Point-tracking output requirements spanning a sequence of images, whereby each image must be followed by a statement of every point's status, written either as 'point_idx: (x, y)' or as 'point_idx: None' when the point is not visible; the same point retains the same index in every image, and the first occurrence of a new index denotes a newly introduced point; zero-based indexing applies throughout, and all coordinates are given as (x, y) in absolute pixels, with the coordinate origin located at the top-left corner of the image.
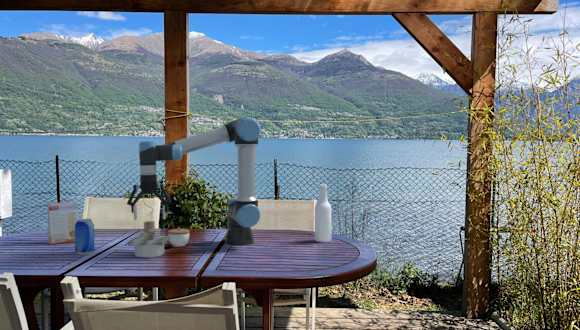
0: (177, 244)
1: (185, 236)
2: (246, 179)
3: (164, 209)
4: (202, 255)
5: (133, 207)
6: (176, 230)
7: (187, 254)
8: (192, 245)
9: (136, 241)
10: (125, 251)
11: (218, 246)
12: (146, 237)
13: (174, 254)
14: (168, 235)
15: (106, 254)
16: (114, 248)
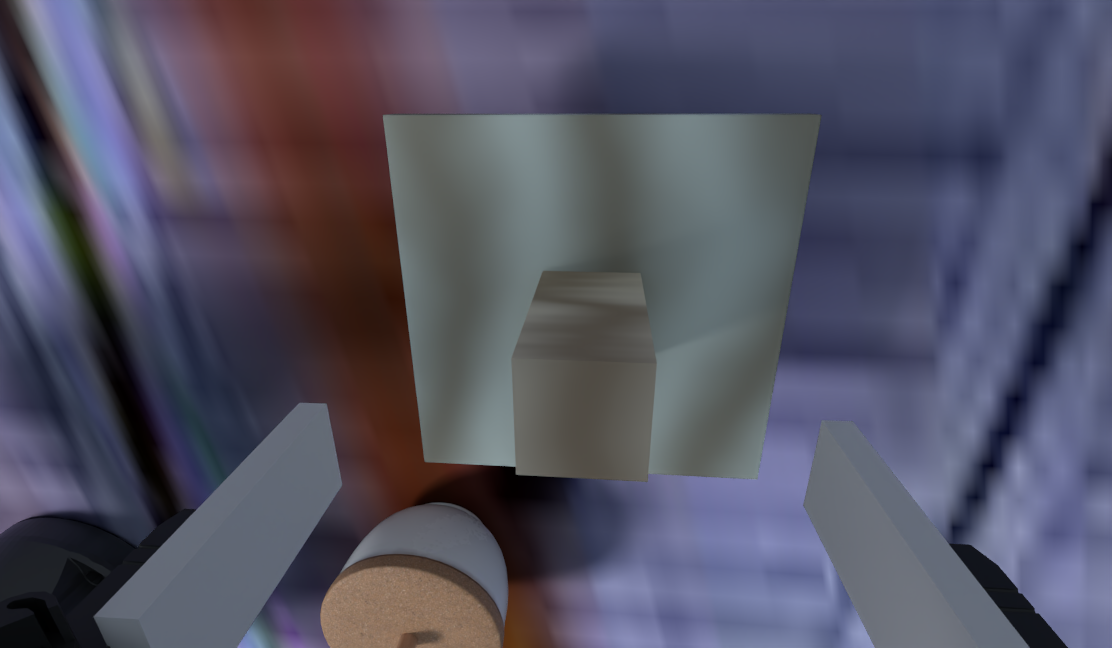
0: (435, 504)
1: (353, 555)
2: None
3: (180, 539)
4: (145, 206)
5: (1018, 635)
6: (425, 631)
7: (278, 248)
8: (354, 533)
9: (712, 176)
10: (822, 379)
11: (167, 492)
12: (612, 280)
13: (383, 251)
14: (500, 589)
15: (987, 273)
16: (927, 486)
